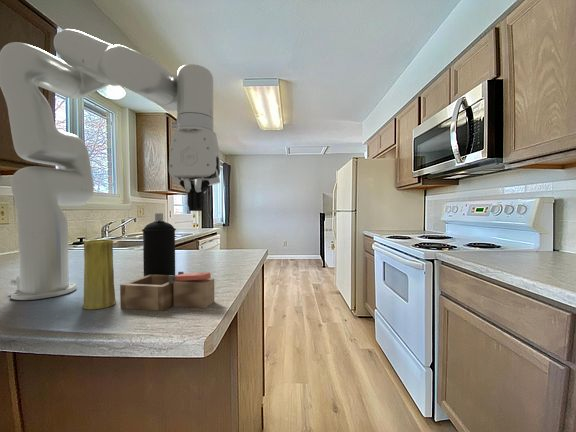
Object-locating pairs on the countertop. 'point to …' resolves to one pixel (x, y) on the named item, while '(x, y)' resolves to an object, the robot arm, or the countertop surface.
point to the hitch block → (166, 293)
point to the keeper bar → (192, 276)
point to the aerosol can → (159, 247)
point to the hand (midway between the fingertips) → (195, 210)
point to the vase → (98, 274)
